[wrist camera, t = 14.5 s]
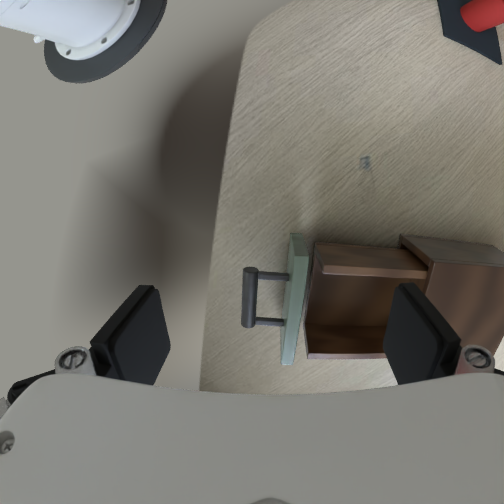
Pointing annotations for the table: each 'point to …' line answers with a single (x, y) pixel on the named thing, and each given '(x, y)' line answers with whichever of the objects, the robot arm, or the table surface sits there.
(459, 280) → the cabinet
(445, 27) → the coaster
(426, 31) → the table surface
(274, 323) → the drawer
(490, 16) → the red cylinder
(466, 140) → the table surface
